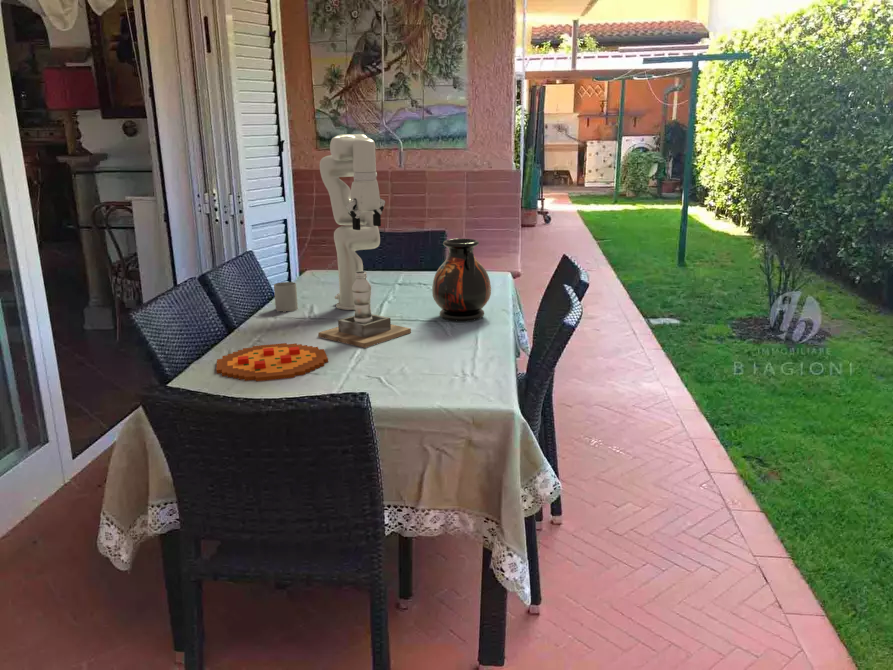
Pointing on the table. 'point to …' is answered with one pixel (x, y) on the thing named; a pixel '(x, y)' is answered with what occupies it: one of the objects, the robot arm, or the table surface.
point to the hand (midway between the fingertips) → (367, 227)
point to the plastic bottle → (362, 298)
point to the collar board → (364, 331)
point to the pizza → (271, 362)
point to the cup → (285, 296)
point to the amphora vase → (461, 283)
